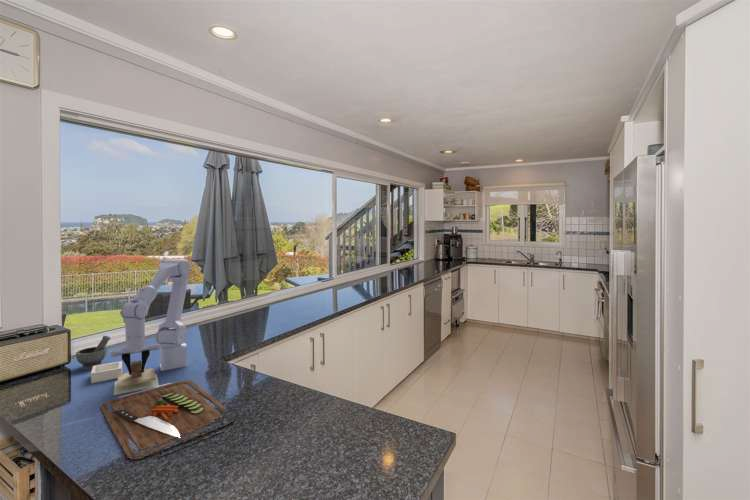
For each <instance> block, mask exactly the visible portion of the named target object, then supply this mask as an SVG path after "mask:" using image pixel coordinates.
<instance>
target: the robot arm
mask: <svg viewBox="0 0 750 500" xmlns="http://www.w3.org/2000/svg"><path fill="white" fill-rule="evenodd" d="M191 265H192V264H190V262H189V260H188V259H186V258H182V259H181V258H180V259H179V258H178V259H175V258H173V259H172V258H171V259H169V258H163V259H162V260H161V262H160V263H159V264H158V270H157V271H156V273H155V274H154V276H153V277H152V279H151V280H150V282H149V284H148V285H143V286H142V287H140V288H139V291H138V292H136V294H135V295H134V297H133V298H132V299H131V300H130V301H128V302H126V303H125V304H123V306H121V310H120V312H119V314H120V316H121V318H123V323H124V326H125V327H124V328H125V329H124V331H125V347H122V348H118V349H114V350H110V353H109V354H110V358H115V357H119V356H121V359H122V360H121V361H122V362H124V364H125V366H126V368H127V371H128V373H129V375H131V362H132V361H131V355H132V354H138V353H141V369H142V373H143V372H144V370H145V366H146V364H147V361H148V358H149V357H150V355H151V351H160V364H159V370H160V371H161V372H163V371H169V370H174V369H180V368H185V367H188V366H189V365H188V361H189V360H188V358H189V357H188V345H187V343H186V342H185V341H186V338H187V333H186V328H187V327H186V325H184V323H182V315H183V309H184V304H185V298H186V292H187V289H188V287H187V286H188V282H189V279H190V274H191V268H192V266H191ZM167 280H170V281H171V282H172V285H171V286H172V287H171V291H170V292H171V293H170V295H169V302H168V306H167V312H166V318H165V320H164V321H163V322H162V323H161V324H159V327H158V329H157V331H156V334H155V342H156V343H153V344H152V343H151V344H146V336H145V335H146V334H145V333H146V330H145V317H147V316H148V313H149V308H150V307H151V304H152V303H153V301H154V300H155V299H156V298H157V296H158V294H159V293H158V289H160V287H161V286H162V285H163V284H164V283H165V282H166V281H167Z"/></svg>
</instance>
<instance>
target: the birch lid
mask: <svg viewBox="0 0 750 500" xmlns="http://www.w3.org/2000/svg"><path fill="white" fill-rule="evenodd" d="M141 365H142V359H141V360H134V361H131V375H129V372H124V373H123V372H122V374H118V379H117V381H118V383H117V387H121V386H127V385H132V384H137V383H142V382H147V381H152V380H156V379H155V374H156V373H155V367H153V368H151V367H150V368H144V372H143V373H142V369H141Z"/></svg>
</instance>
